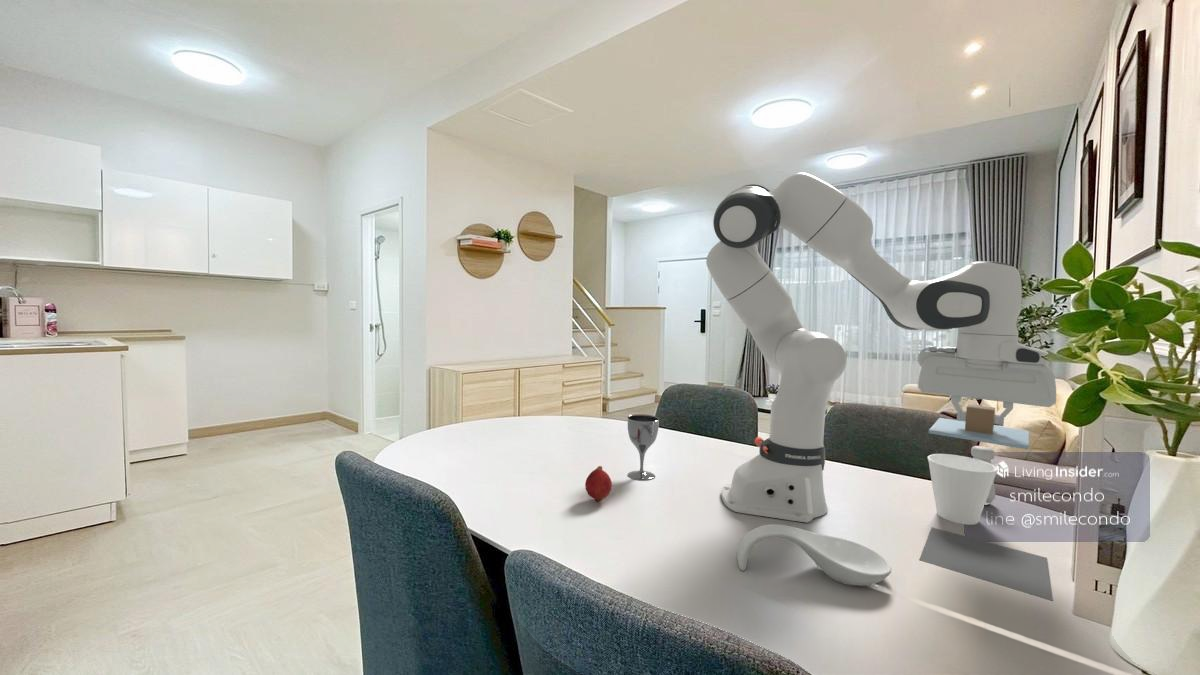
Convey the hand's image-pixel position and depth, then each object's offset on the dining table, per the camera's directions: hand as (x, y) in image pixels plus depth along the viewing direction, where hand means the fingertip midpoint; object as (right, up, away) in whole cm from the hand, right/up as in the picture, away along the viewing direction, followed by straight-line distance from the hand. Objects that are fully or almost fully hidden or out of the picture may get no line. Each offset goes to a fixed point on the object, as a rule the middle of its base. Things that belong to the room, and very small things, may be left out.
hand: (979, 422), depth 91 cm
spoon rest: (-36, -23, -10) cm, 45 cm away
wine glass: (-61, -20, +33) cm, 72 cm away
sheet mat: (-4, -23, -6) cm, 25 cm away
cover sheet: (0, -2, 0) cm, 2 cm away
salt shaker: (+16, -22, +21) cm, 34 cm away
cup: (+4, -23, +11) cm, 26 cm away
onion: (-72, -20, +16) cm, 76 cm away
